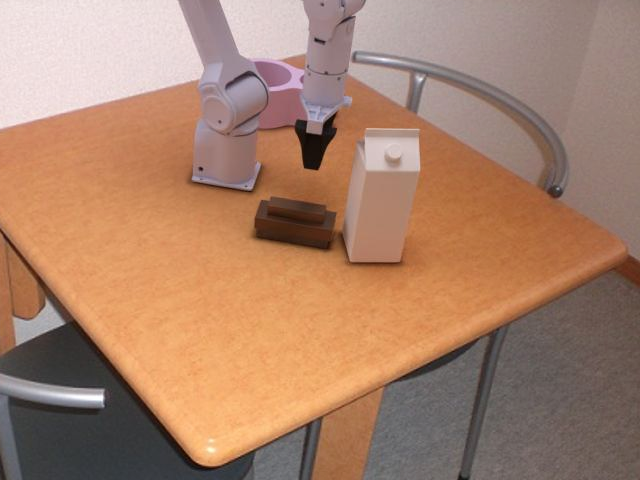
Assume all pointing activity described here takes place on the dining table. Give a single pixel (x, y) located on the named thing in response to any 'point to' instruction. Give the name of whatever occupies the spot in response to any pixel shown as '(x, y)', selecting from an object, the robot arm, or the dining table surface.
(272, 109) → the clip
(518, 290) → the dining table surface
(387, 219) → the milk carton
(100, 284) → the dining table surface
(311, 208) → the brush
